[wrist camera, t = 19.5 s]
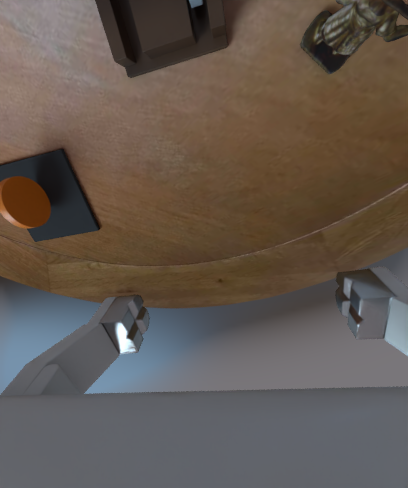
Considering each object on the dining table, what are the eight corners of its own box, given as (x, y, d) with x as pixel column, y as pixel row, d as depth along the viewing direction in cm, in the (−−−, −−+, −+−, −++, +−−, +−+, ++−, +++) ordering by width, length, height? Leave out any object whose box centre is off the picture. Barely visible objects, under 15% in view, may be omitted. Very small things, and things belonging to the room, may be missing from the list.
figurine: (365, 55, 27) (496, -14, 14) (338, 87, 29) (432, 53, 15) (322, 7, 26) (421, -121, 12) (296, 43, 27) (359, -35, 14)
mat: (-7, 167, 38) (-11, 168, 38) (63, 149, 36) (60, 149, 35) (37, 240, 44) (34, 241, 44) (100, 229, 42) (98, 230, 41)
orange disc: (34, 177, 39) (-16, 177, 31) (40, 176, 38) (-9, 175, 31) (51, 223, 41) (8, 233, 33) (57, 222, 40) (15, 232, 33)
